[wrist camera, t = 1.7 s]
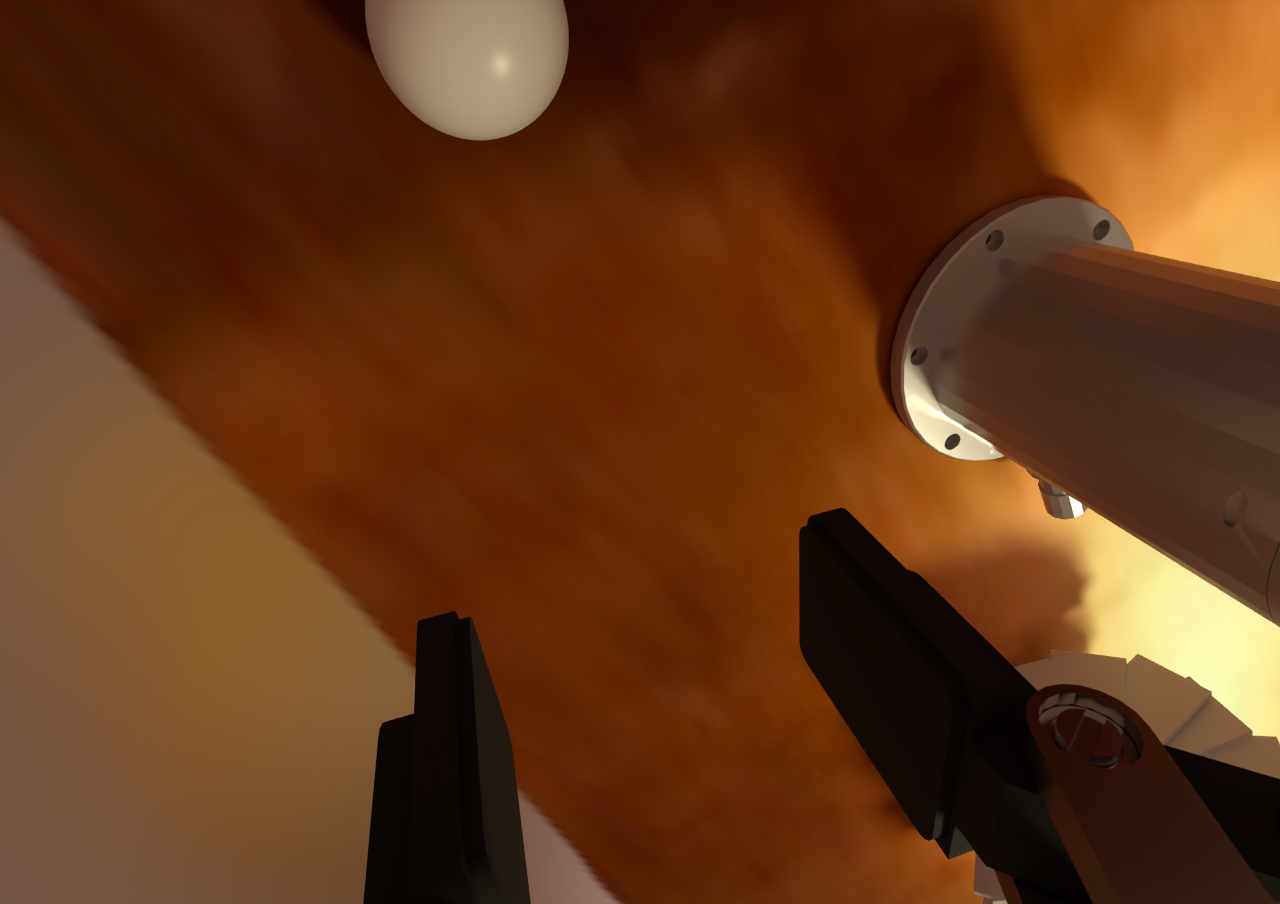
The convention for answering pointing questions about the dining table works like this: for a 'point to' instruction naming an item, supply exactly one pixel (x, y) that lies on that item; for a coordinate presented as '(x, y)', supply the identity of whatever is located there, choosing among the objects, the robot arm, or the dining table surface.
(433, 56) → the cue ball
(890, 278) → the dining table surface
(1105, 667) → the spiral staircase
